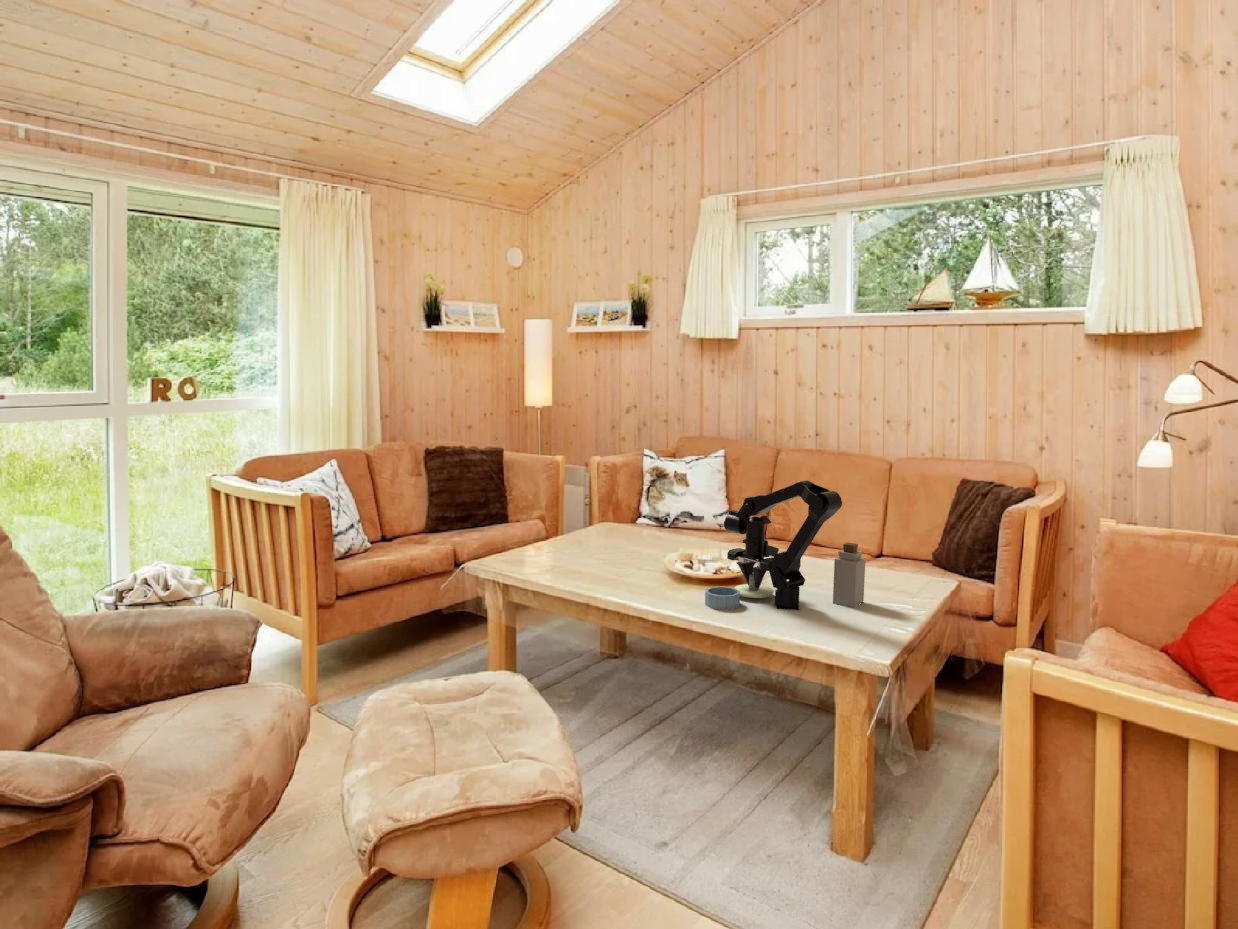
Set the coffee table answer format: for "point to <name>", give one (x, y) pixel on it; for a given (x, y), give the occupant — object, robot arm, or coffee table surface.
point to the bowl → (722, 598)
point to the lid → (754, 589)
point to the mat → (757, 599)
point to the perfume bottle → (849, 576)
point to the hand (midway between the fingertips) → (753, 586)
